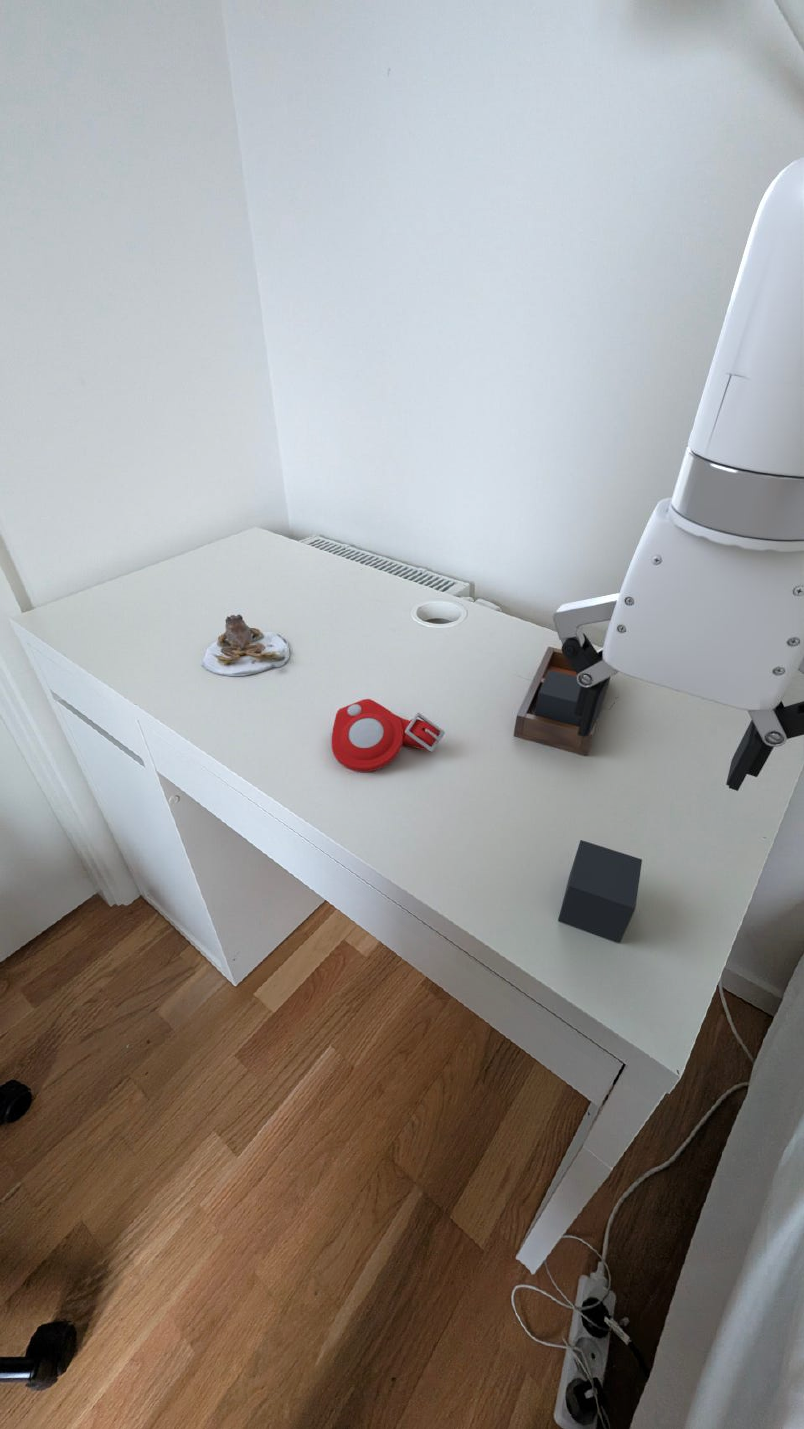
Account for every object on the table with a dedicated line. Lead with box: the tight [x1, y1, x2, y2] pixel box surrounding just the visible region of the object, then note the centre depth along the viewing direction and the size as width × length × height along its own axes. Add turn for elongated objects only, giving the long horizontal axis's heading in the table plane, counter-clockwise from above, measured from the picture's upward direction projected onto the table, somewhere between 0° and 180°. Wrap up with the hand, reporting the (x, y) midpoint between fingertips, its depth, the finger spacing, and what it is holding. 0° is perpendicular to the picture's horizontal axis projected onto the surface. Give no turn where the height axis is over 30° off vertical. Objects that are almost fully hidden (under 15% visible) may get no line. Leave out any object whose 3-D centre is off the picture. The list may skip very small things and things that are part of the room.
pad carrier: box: [513, 646, 598, 757], centre depth 70 cm, size 8×16×3 cm, turn 156°
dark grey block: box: [557, 839, 643, 944], centre depth 48 cm, size 5×5×5 cm
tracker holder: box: [331, 698, 446, 773], centre depth 65 cm, size 12×4×10 cm
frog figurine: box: [201, 614, 291, 677], centre depth 79 cm, size 12×12×4 cm
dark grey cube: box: [535, 670, 581, 727], centre depth 67 cm, size 5×5×5 cm
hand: (657, 749), depth 39 cm, fingers open, 9 cm apart
